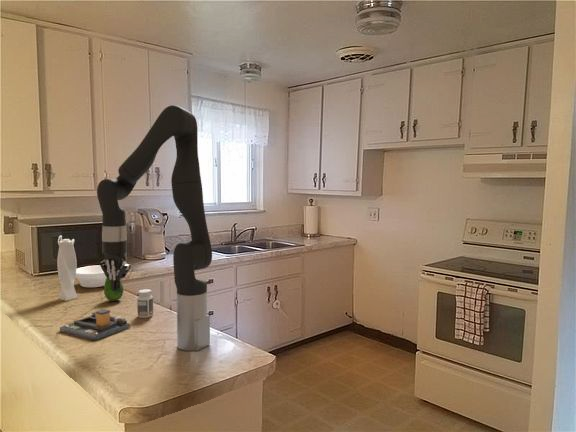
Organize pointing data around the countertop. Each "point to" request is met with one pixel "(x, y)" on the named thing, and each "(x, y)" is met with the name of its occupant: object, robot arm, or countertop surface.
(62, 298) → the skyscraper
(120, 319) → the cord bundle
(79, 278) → the bowl
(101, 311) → the lever
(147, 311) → the pill bottle
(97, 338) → the breaker panel
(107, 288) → the avocado
